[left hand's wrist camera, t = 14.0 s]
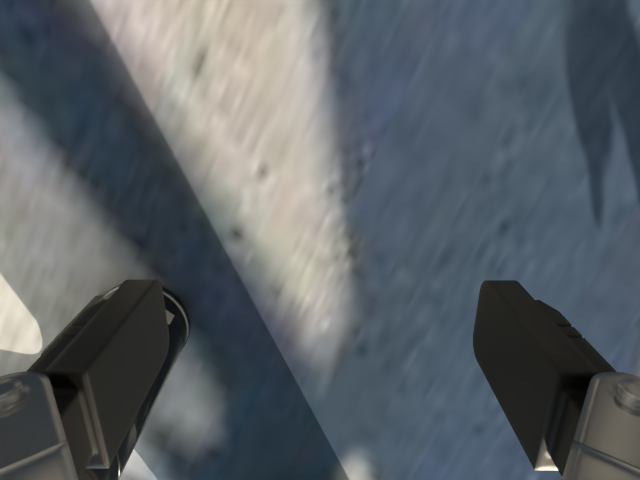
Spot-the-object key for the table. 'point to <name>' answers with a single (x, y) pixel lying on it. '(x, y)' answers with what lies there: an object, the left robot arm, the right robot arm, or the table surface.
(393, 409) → the table surface
